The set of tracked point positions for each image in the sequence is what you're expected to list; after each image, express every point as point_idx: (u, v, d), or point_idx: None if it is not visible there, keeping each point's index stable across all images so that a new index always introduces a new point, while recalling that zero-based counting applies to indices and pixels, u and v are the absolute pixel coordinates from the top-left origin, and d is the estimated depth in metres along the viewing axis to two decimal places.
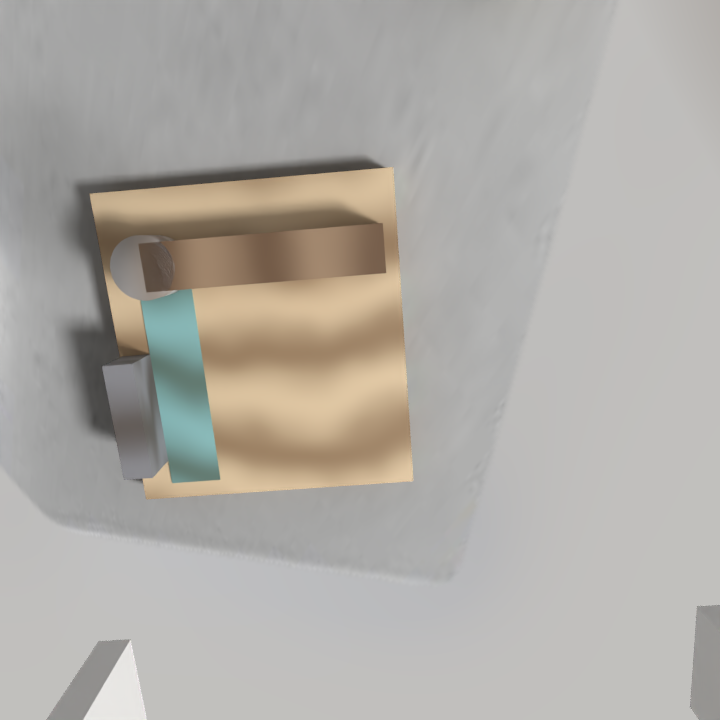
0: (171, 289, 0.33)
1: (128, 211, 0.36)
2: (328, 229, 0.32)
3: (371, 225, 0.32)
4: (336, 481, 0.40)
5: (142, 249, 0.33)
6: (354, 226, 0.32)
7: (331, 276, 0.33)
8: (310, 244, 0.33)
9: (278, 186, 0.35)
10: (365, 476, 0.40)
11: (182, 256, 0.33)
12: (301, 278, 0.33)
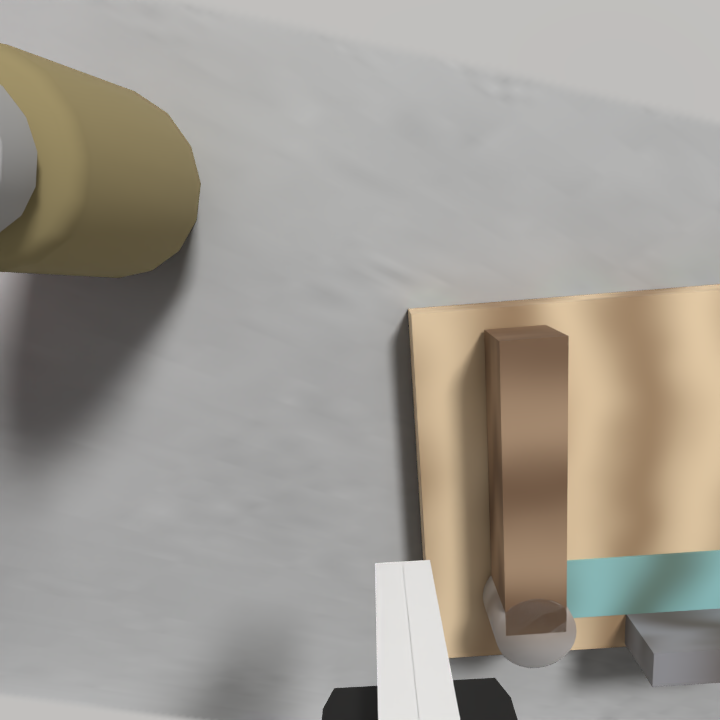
0: (565, 604, 0.26)
1: (452, 621, 0.30)
2: (503, 412, 0.24)
3: (501, 356, 0.24)
4: None
5: (513, 631, 0.27)
6: (501, 379, 0.24)
7: (566, 409, 0.24)
8: (521, 436, 0.24)
9: (430, 456, 0.28)
10: None
11: (525, 588, 0.26)
12: (565, 448, 0.24)
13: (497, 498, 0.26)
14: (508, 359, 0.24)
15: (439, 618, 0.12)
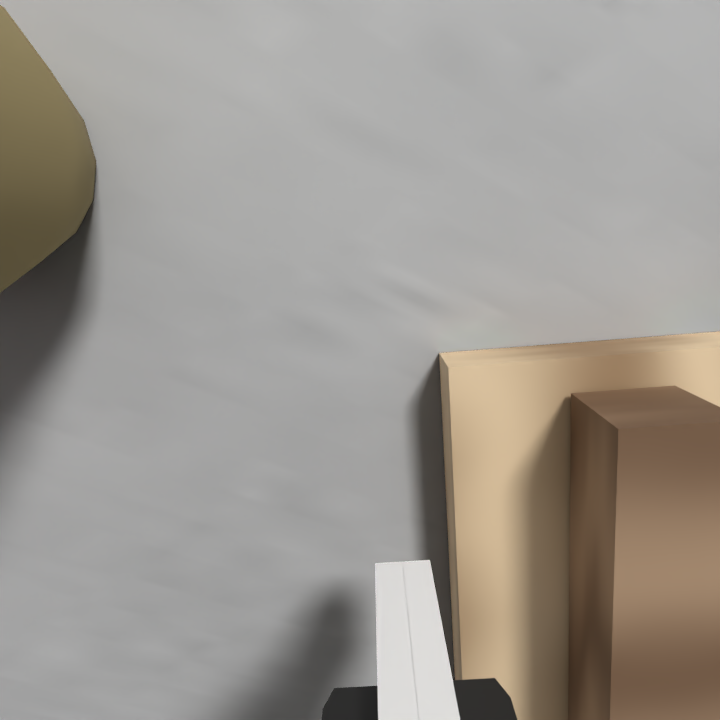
0: None
1: None
2: (619, 552, 0.13)
3: (620, 455, 0.13)
4: None
5: None
6: (619, 495, 0.13)
7: None
8: (648, 592, 0.14)
9: (476, 590, 0.17)
10: None
11: None
12: None
13: (593, 677, 0.16)
14: (633, 461, 0.13)
15: (439, 618, 0.12)
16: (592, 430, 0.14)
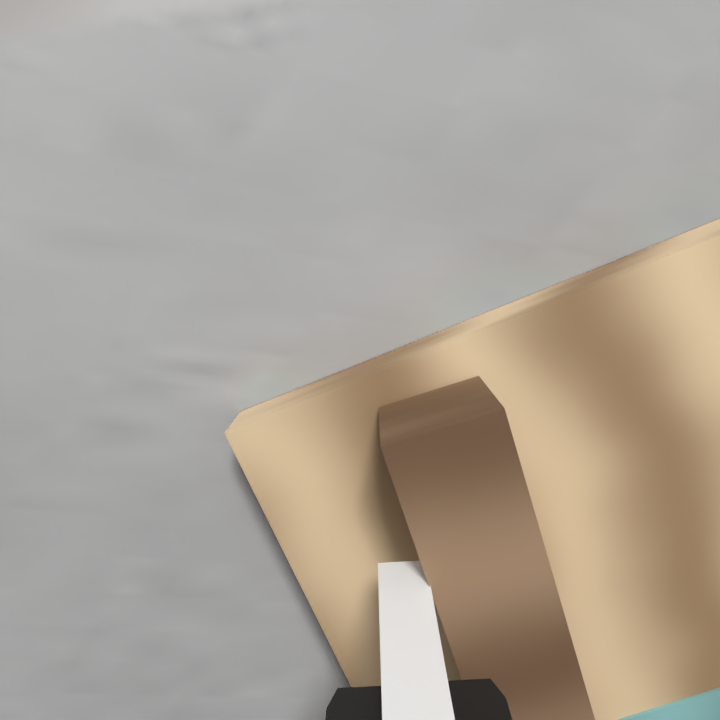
0: None
1: None
2: (426, 564, 0.13)
3: (393, 471, 0.13)
4: None
5: None
6: (405, 509, 0.13)
7: (538, 535, 0.13)
8: (469, 597, 0.13)
9: (341, 629, 0.17)
10: None
11: None
12: (556, 600, 0.13)
13: None
14: (406, 474, 0.13)
15: (435, 618, 0.12)
16: None
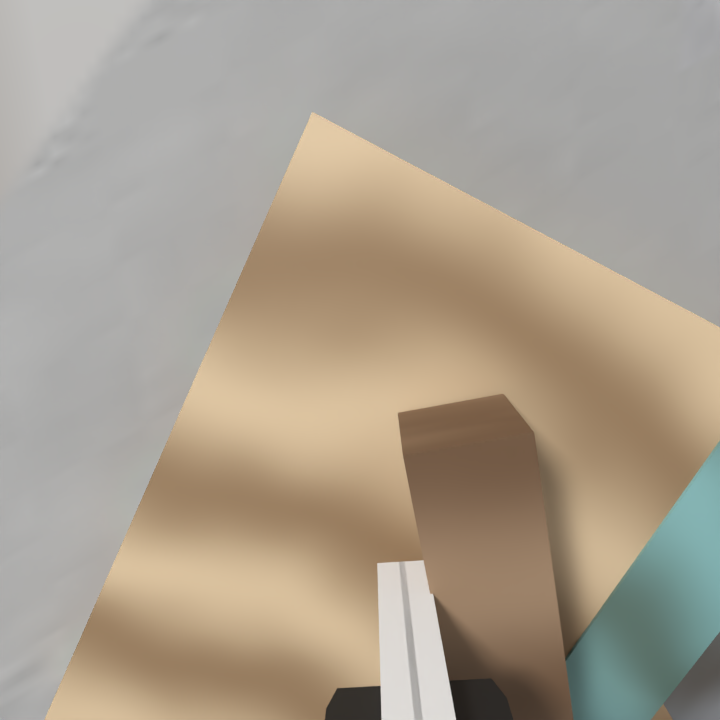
0: None
1: None
2: (432, 579, 0.13)
3: (412, 481, 0.12)
4: (499, 228, 0.14)
5: None
6: (418, 521, 0.13)
7: (549, 563, 0.13)
8: (470, 616, 0.13)
9: None
10: (422, 198, 0.14)
11: None
12: (557, 630, 0.13)
13: None
14: (425, 486, 0.12)
15: (435, 618, 0.12)
16: None
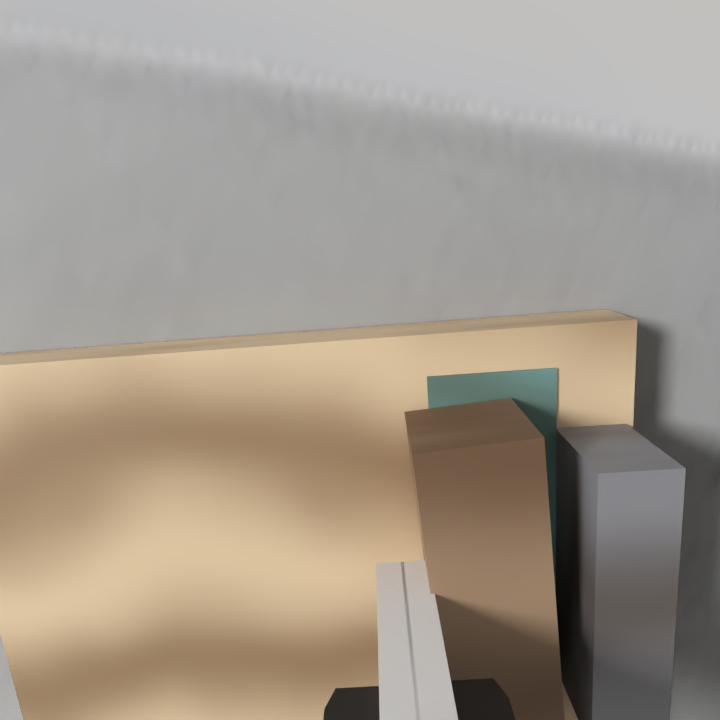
0: None
1: None
2: (433, 579, 0.13)
3: (419, 480, 0.12)
4: (124, 369, 0.15)
5: None
6: (423, 521, 0.13)
7: (550, 568, 0.13)
8: (469, 618, 0.13)
9: None
10: (52, 383, 0.15)
11: None
12: (554, 635, 0.13)
13: None
14: (432, 485, 0.12)
15: (437, 618, 0.12)
16: (410, 452, 0.14)
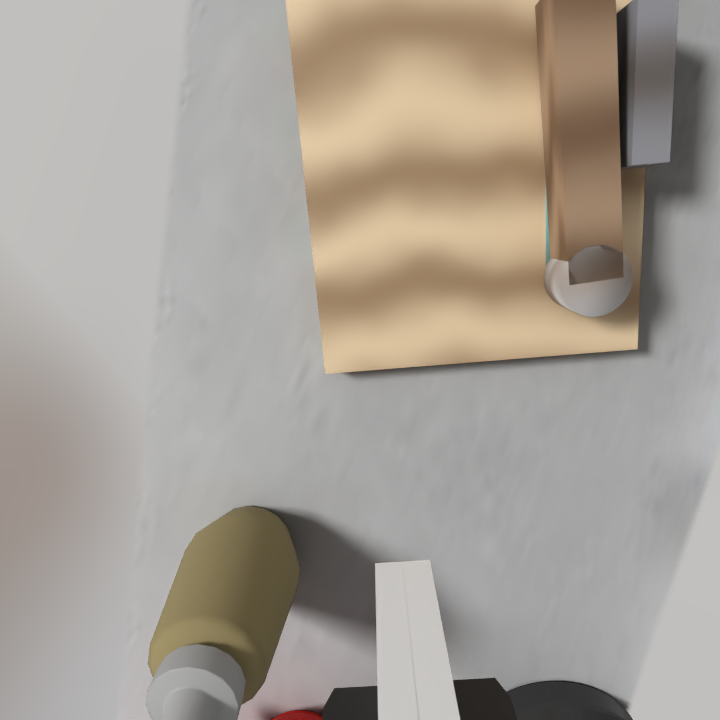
0: (621, 248, 0.29)
1: (600, 331, 0.34)
2: (559, 55, 0.27)
3: None
4: None
5: (575, 280, 0.30)
6: (556, 21, 0.27)
7: (615, 48, 0.27)
8: (575, 78, 0.27)
9: (440, 356, 0.34)
10: None
11: (585, 235, 0.29)
12: (616, 88, 0.27)
13: (555, 157, 0.29)
14: (562, 0, 0.27)
15: (439, 618, 0.12)
16: (544, 7, 0.28)
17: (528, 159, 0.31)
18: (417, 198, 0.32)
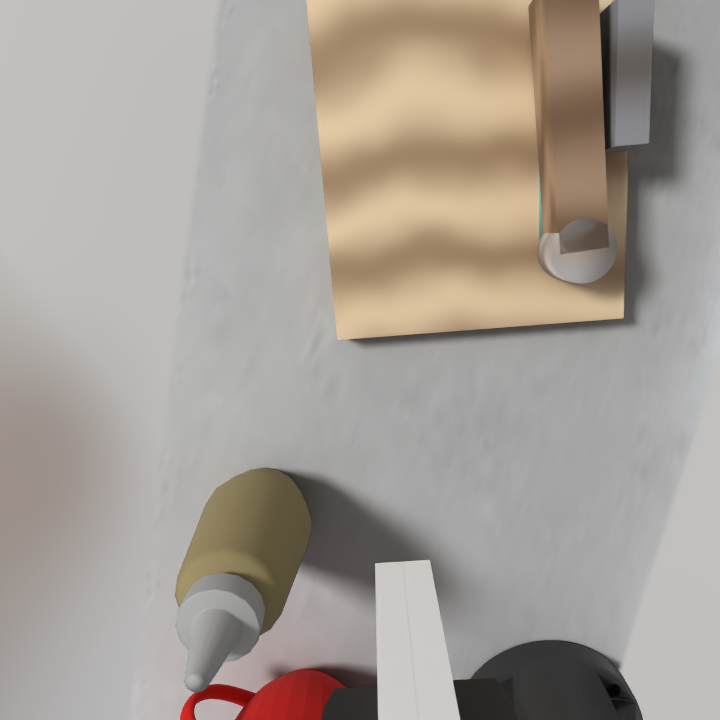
0: (607, 221, 0.33)
1: (589, 302, 0.37)
2: (549, 48, 0.31)
3: None
4: None
5: (565, 250, 0.33)
6: (547, 17, 0.30)
7: (599, 41, 0.31)
8: (564, 68, 0.31)
9: (443, 323, 0.38)
10: None
11: (573, 209, 0.33)
12: (600, 76, 0.31)
13: (547, 139, 0.33)
14: None
15: (439, 618, 0.12)
16: (536, 6, 0.32)
17: (523, 143, 0.35)
18: (422, 178, 0.35)
